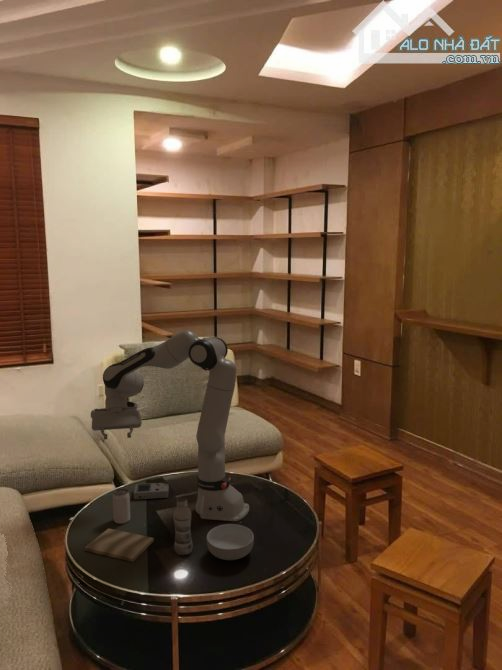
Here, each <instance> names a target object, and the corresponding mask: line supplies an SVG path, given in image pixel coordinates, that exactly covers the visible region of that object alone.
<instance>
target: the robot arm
mask: <svg viewBox="0 0 502 670" xmlns="http://www.w3.org/2000/svg"><path fill="white" fill-rule="evenodd" d="M228 349H229V348H228V345H227V342H226V341H225V340H224V339H222V338H221V337H220V338H219V337H215V336H213V337H211V336H210V337H202V338H199V337H198V335H197V334H196V333H195V332H194V331H192V330H189V329H186V330H185V329H184V330H181V331H180V332H179V333H178V332H177V333H176V334H175V335H172V336H171V337H170V338H168V339H166V340H165V341H164V342H162V343H159V344H157V345H155V346H151V347H147V348H144V349H142V350H140V351H138V352H136V353H134V354H132V355H131V356H129V357H127V358H125V359H123V360H121V361H119V362H117V363H113V364H110V365H108V367H106V369H104V371H103V374H102V382H103V385H104V395H105V400H104V405H105V408H94V409H92V410H91V411H90V418H91V419H92V420H91V429H92V431H93V432H94V431H100V433H101V435H102V437H103V440H108V433H106V432H105V431H107V430H108V431H109V430H122V429H125V430H126V429H129V431H128V432H127V433H126V434H127V435H126V436H127V439H131V438H132V434H133V431H134V429H139V428H140V427H142V421H143V420H142V415H141V411H140V410H139V409H138V403H137V402H133V401H129V400H127V398H132V397H134V396H136V395H138V394H140V393H141V392H142V390H143V389H144V383H145V382H144V381H145V380H144V378H143V376H142V375H140V374H139V373H137V372H135V371H137V370H138V369H140V368H143V367H144V368H145V367H155V368H161V369H167V370H168V369H173V368H175V367H177V366H179V365H181V364H182V363H183V362H184V361H186V360H187V359H189V360H190V361H191V363H192V364H194V365H195V366H196V367H199V368H201V369H202V370H204V371H205V372H206V371H208V372H209V374H208V379H207V383H206V389H205V393H204V397H203V403H202V407H201V412H200V416H199V421H198V423H197V425H198V426H197V430H196V434H195V435H196V442H197V446H198V447H197V471H198V472H197V473H198V475H197V481H196V482H197V491H198V492H197V498H196V499H197V500H196V504H195V507H194V509H195V512H196V514H198V515H199V517H200V519H202V520H214V521H224V522H225V521H226V522H227V521H228V522H239V521H240V520H243V519H244V518H245V517H246V516H247V515H248V513H249V512H250V505H249V503H245V501H244V497H243V494H242V493H241V492H239V491H238V490H237V489H236V488H235V487H234V486H232V485H231V484H230V481H231V480H232V479H231V477H229V478H228V477H227V475H226V453H225V452H226V447H225V441H226V438H225V437H226V431H227V425H228V421H229V416H230V409H231V406H232V402H233V401H232V400H233V396H234V391H235V387H236V381H237V365H236V364H235V362H233V361H231V360H230V359H228V358H226V357H227V355H228V351H229V350H228Z"/></svg>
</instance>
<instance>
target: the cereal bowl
mask: <svg viewBox="0 0 502 670" xmlns="http://www.w3.org/2000/svg"><path fill="white" fill-rule="evenodd" d="M254 537H255V536H254V533H253V531H252V530H251V529H250V528H248V527H247V526H245V525H241V524H237V523H236V524H235V523H226V524H221V525H220V524H219V525H218V526H215V527H213V528H211V529H210V530H209V531H208V532H207V535H206V544H207V545H206V546H207V549H208V551H209V552H210V553H211V554H212V555H213V556H214V557H215V558H218V559H221V560H225V561H237V560H239V559H243V558H244V557H246V556H247V555H248V554H249V553H250V552H251V551H252V550H253V547H254V542H255V538H254Z"/></svg>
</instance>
